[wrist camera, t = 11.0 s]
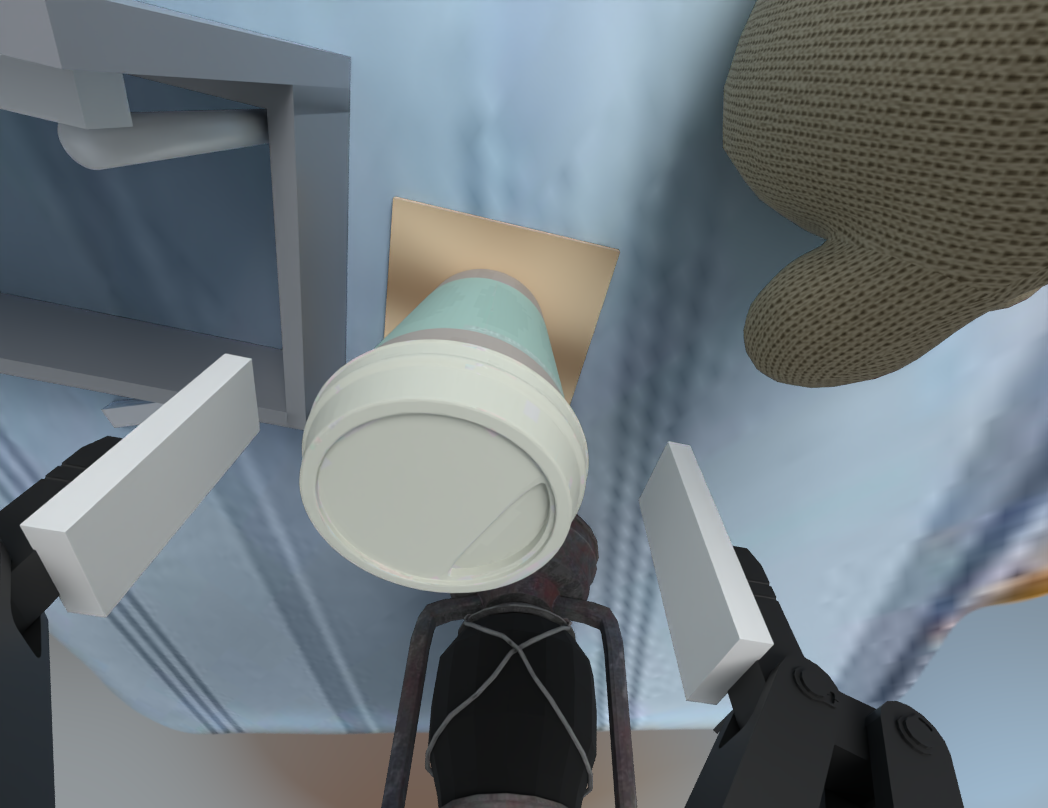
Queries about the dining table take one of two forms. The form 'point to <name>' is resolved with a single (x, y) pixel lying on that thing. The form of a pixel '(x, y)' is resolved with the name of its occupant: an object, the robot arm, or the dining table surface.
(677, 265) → the dining table surface
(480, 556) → the coffee cup
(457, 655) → the lantern
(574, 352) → the cork pad
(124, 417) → the bar
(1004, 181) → the bear
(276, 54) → the case
